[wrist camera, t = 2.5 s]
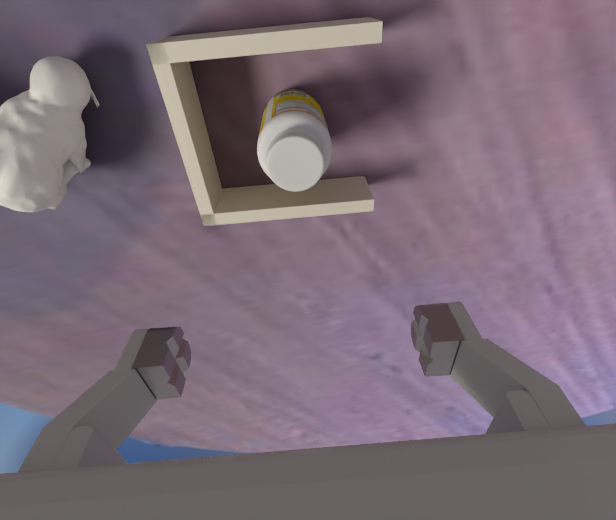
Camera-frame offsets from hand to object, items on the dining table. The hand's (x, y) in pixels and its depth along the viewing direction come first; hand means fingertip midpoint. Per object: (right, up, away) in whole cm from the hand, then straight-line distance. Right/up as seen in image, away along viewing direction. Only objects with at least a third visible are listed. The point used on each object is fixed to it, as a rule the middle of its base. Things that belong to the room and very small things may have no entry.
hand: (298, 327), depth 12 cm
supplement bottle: (-1, +15, +19) cm, 24 cm away
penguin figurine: (-21, +15, +18) cm, 32 cm away
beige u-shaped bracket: (-2, +15, +19) cm, 24 cm away
